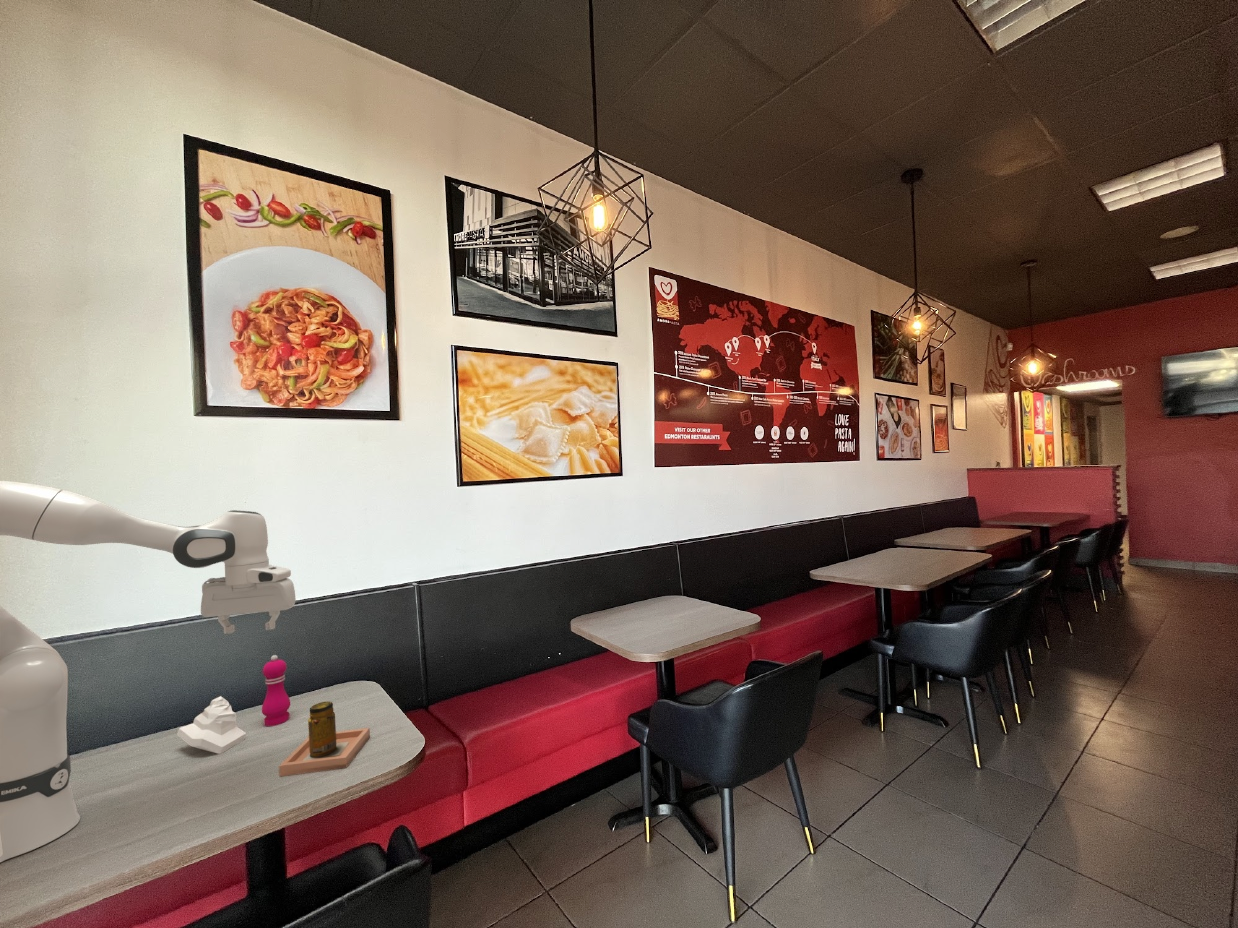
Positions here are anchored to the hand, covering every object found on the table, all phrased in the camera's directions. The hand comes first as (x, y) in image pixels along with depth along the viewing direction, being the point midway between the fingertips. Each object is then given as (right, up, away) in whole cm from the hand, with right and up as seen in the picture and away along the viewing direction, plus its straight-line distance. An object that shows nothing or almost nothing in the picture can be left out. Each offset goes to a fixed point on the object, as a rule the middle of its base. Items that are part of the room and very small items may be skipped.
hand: (250, 631), depth 124 cm
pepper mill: (-13, -37, +29) cm, 49 cm away
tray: (+16, -34, +6) cm, 38 cm away
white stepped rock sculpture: (-22, -38, +16) cm, 46 cm away
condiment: (+15, -34, +6) cm, 37 cm away
